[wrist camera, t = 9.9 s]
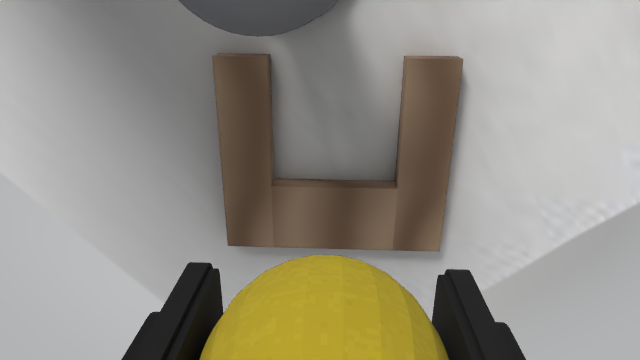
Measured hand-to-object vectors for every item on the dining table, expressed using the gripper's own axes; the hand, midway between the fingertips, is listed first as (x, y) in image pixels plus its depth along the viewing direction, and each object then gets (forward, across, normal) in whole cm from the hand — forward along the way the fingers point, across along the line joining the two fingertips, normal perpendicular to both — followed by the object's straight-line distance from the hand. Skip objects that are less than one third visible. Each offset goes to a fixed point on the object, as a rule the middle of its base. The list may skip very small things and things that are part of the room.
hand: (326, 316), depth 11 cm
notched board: (+21, 0, +3) cm, 21 cm away
